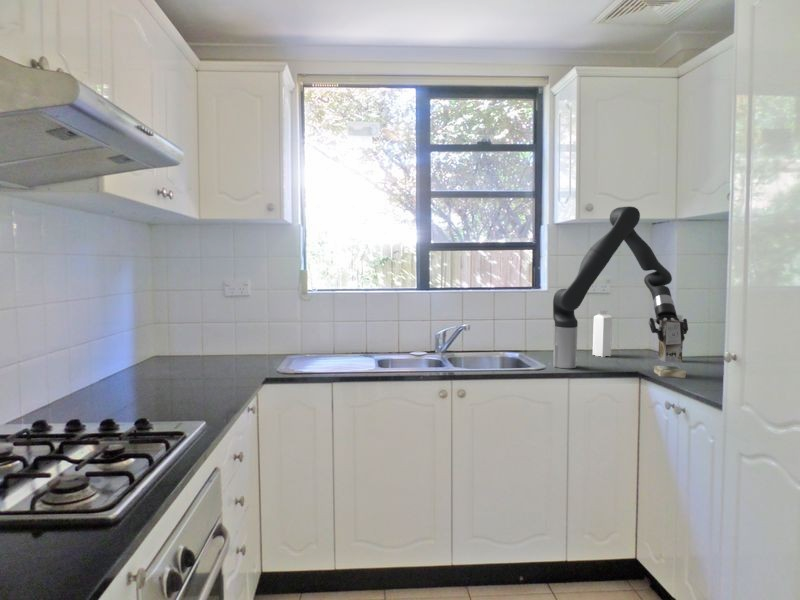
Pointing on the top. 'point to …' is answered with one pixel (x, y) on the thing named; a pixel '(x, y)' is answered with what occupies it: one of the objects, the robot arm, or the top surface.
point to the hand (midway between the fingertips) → (672, 340)
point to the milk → (602, 334)
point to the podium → (669, 371)
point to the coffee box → (671, 341)
